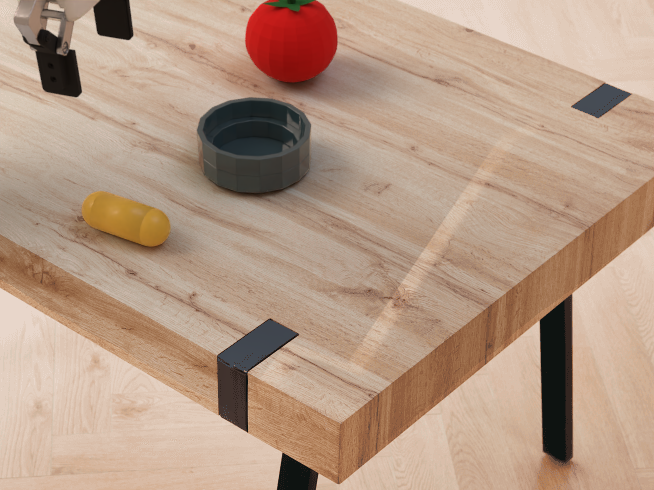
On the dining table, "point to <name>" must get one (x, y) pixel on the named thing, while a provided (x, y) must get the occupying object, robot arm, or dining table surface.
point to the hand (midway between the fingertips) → (90, 63)
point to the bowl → (254, 144)
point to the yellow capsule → (126, 218)
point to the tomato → (291, 39)
